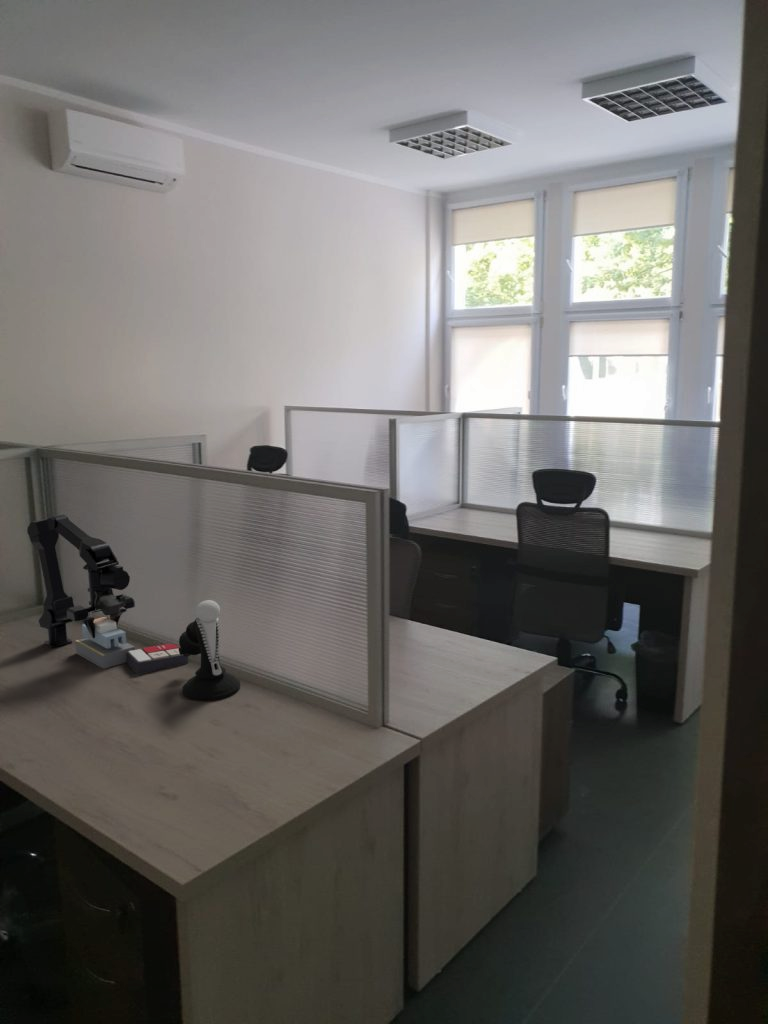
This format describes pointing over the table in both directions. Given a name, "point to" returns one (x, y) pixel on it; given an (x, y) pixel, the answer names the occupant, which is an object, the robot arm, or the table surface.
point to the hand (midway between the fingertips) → (103, 635)
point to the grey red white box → (155, 658)
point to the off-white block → (105, 626)
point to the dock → (103, 653)
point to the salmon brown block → (100, 620)
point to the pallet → (106, 637)
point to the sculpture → (206, 657)
